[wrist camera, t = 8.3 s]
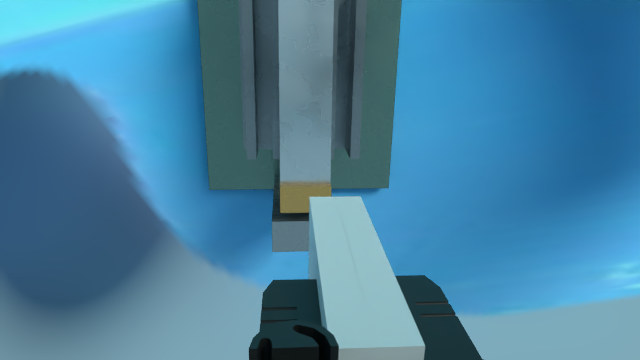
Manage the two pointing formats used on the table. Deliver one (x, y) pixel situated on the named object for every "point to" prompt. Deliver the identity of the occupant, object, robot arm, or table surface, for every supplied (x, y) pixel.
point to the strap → (305, 101)
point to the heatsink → (263, 100)
